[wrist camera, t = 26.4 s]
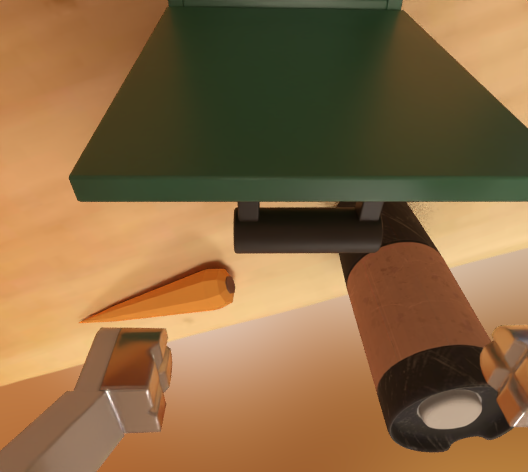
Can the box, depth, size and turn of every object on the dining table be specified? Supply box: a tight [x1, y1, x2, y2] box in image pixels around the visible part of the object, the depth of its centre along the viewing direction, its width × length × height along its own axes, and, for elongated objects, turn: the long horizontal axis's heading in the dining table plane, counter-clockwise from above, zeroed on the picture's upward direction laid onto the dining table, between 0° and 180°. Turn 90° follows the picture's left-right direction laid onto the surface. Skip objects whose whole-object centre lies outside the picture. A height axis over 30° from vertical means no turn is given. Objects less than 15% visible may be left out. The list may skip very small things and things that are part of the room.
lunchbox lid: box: [69, 7, 528, 253], centre depth 17 cm, size 15×13×5 cm
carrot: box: [79, 269, 235, 323], centre depth 42 cm, size 20×4×4 cm, turn 113°
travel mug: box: [337, 202, 514, 452], centre depth 29 cm, size 8×8×20 cm
